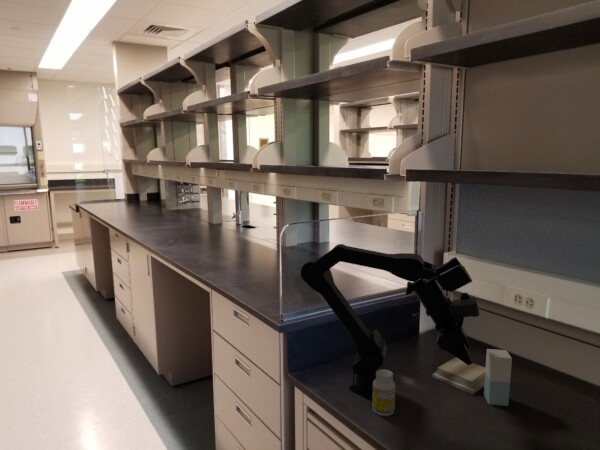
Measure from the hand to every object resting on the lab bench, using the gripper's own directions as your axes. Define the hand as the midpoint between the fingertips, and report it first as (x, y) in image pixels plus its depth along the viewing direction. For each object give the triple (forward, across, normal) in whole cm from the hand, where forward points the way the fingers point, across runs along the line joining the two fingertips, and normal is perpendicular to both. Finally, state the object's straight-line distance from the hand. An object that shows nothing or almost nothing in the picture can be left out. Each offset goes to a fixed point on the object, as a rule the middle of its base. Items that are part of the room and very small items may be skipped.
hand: (469, 355), depth 104 cm
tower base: (+11, +14, +7) cm, 19 cm away
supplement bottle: (0, -8, +23) cm, 25 cm away
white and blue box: (+15, +5, +1) cm, 16 cm away
